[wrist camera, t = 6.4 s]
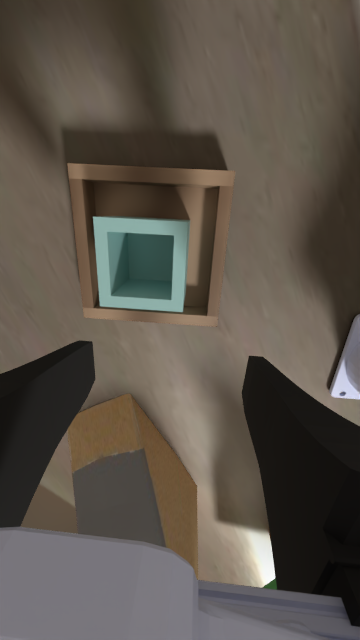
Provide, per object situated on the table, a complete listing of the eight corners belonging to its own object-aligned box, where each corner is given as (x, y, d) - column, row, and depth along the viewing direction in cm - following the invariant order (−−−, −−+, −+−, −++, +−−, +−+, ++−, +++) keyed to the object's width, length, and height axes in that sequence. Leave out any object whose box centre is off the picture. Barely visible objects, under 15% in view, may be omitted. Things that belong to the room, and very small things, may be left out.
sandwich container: (130, 388, 25) (47, 610, 11) (200, 485, 29) (203, 724, 16) (63, 417, 27) (-81, 634, 13) (138, 503, 31) (92, 729, 18)
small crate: (190, 220, 18) (188, 221, 13) (186, 289, 20) (182, 312, 15) (119, 216, 18) (93, 216, 13) (122, 284, 20) (99, 306, 15)
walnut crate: (229, 176, 17) (235, 171, 15) (214, 314, 21) (217, 326, 19) (84, 169, 17) (67, 163, 15) (96, 306, 21) (84, 317, 19)
